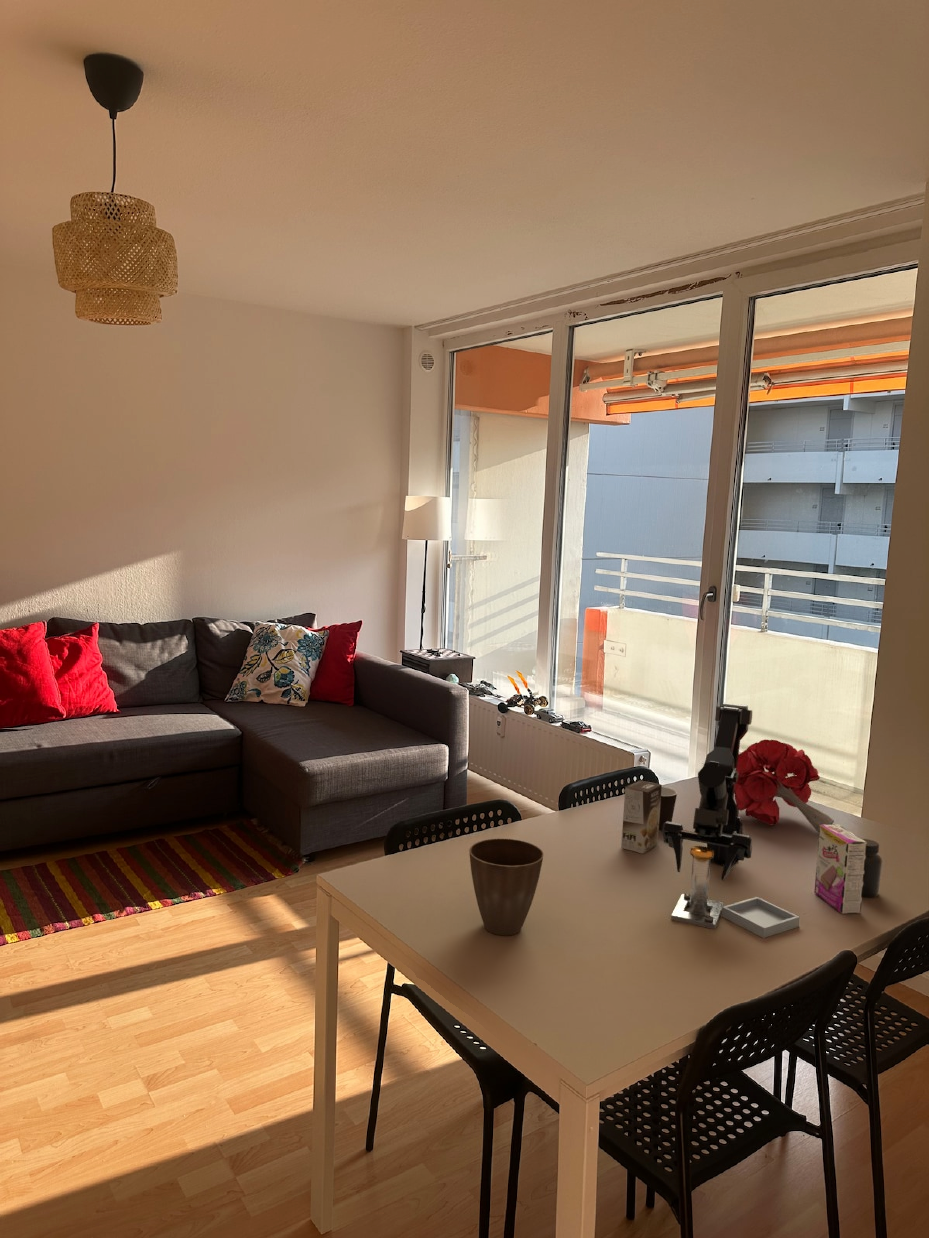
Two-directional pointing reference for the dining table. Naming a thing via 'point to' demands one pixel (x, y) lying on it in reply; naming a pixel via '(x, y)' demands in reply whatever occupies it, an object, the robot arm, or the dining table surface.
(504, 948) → the dining table surface
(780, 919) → the tray
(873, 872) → the supplement bottle
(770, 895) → the dining table surface
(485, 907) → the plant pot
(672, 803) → the coffee mug
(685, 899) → the plate
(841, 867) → the candy bar box
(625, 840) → the coffee box
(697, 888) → the orange capped tube
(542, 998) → the dining table surface
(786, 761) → the bouquet
